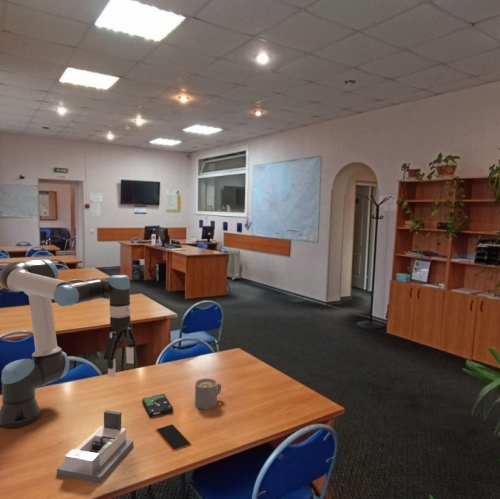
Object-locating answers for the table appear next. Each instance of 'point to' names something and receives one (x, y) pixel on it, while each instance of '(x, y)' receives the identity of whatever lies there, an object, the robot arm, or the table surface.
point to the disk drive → (157, 405)
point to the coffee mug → (206, 393)
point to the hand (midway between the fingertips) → (121, 369)
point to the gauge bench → (101, 468)
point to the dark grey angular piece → (101, 442)
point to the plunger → (110, 425)
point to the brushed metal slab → (82, 462)
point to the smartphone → (173, 437)
